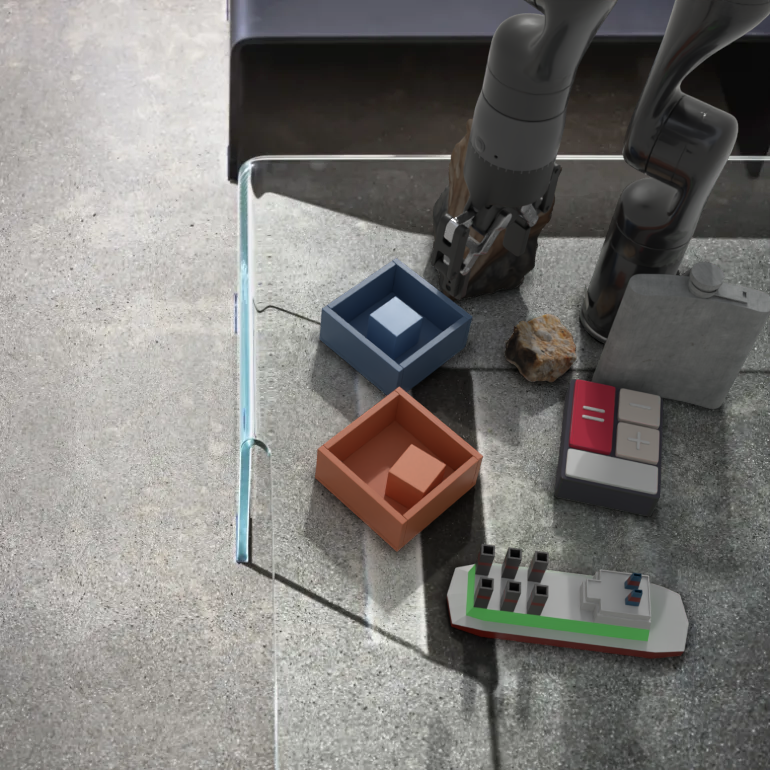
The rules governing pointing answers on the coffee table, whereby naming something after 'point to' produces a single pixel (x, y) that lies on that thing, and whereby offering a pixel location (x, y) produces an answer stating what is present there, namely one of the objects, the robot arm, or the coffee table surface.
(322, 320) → the blue bin
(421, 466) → the terracotta block
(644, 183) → the robot arm
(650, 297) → the hip flask
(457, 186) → the tall brown boulder
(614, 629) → the toy boat
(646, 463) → the calculator
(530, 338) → the rock
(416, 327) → the blue block
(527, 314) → the coffee table surface
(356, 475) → the terracotta bin
